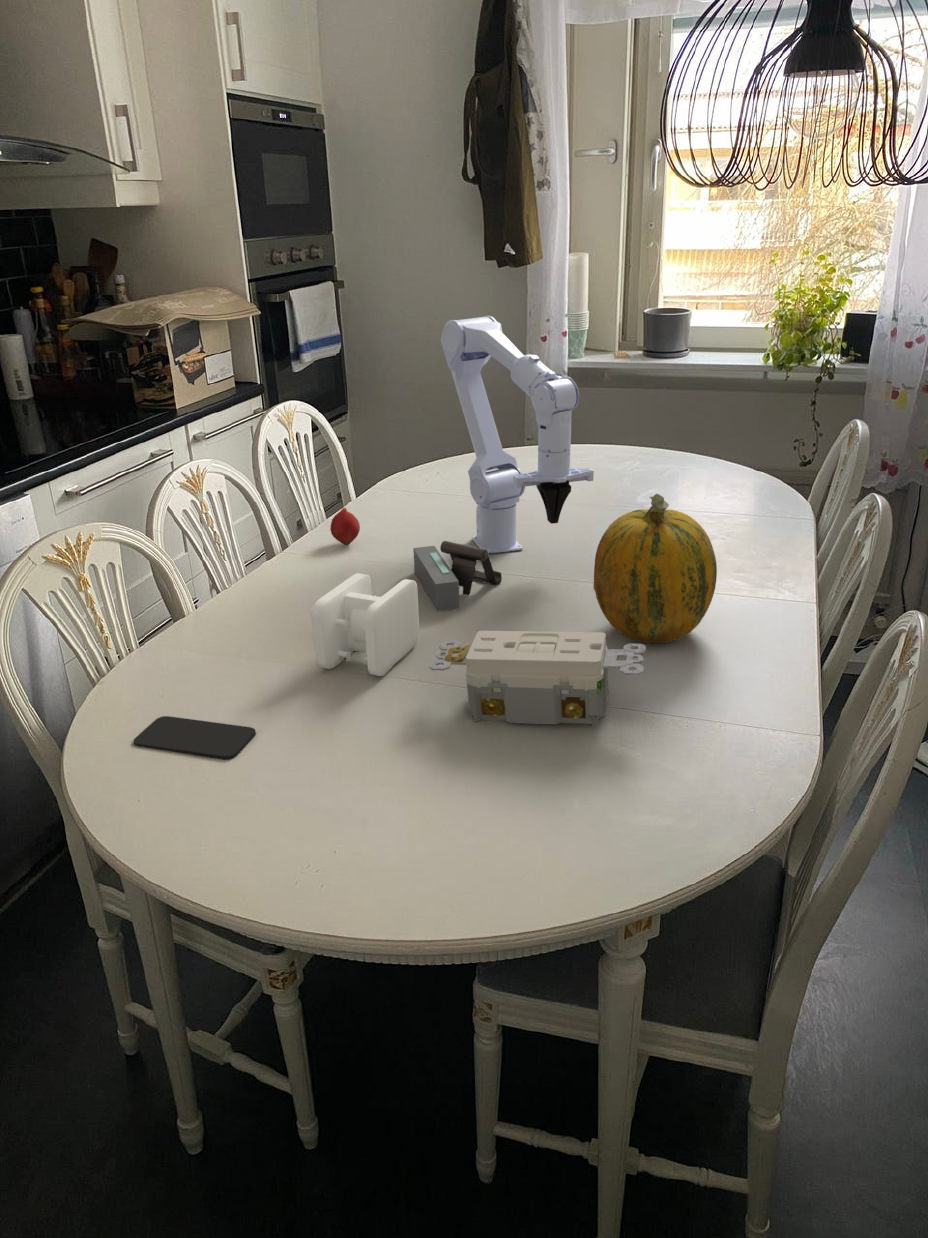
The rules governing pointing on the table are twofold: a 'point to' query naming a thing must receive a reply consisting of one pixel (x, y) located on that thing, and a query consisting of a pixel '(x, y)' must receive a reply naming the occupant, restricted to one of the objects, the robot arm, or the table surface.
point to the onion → (345, 527)
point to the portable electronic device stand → (470, 565)
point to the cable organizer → (365, 624)
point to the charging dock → (436, 578)
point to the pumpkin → (655, 573)
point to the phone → (195, 737)
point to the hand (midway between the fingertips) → (552, 521)
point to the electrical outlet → (538, 674)
